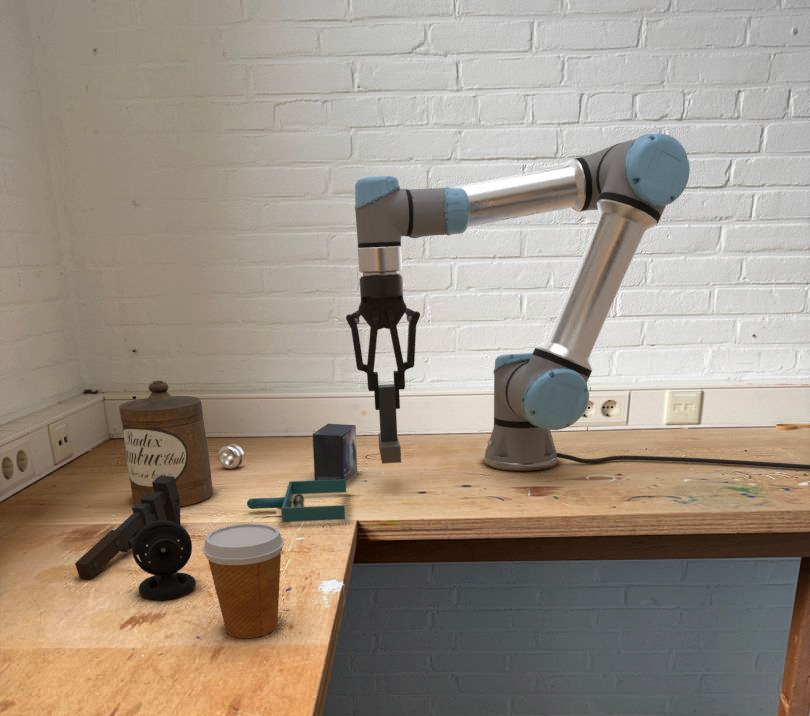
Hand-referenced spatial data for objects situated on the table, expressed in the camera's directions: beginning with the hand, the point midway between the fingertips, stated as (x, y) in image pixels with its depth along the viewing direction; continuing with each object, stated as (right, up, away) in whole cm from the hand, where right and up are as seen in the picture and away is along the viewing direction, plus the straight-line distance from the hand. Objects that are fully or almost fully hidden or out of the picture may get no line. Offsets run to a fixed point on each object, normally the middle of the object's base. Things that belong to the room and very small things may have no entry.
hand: (387, 407), depth 147 cm
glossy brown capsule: (-15, -19, -8) cm, 26 cm away
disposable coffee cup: (-16, -35, -49) cm, 62 cm away
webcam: (-29, -31, -37) cm, 57 cm away
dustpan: (-16, -19, -5) cm, 25 cm away
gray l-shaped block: (0, -8, +3) cm, 9 cm away
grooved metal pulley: (-34, -9, +26) cm, 44 cm away
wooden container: (-41, -16, +5) cm, 44 cm away
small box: (-11, -12, +14) cm, 22 cm away
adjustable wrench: (-39, -26, -22) cm, 52 cm away
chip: (-16, -17, -3) cm, 24 cm away
